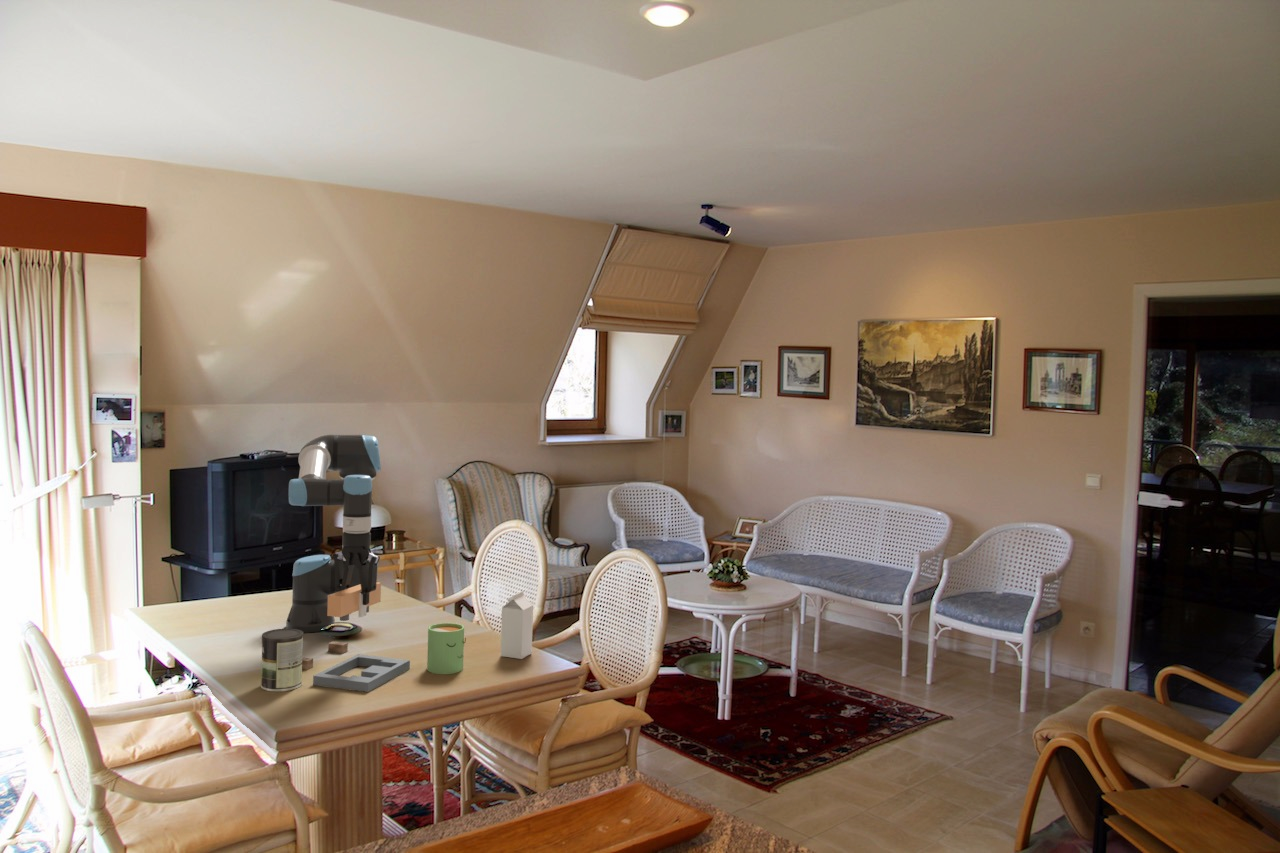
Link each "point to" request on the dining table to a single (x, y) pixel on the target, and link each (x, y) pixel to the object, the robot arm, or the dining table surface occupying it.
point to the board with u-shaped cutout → (362, 673)
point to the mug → (445, 648)
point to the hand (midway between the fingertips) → (354, 615)
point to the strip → (350, 601)
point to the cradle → (332, 647)
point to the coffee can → (281, 660)
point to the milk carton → (517, 627)
